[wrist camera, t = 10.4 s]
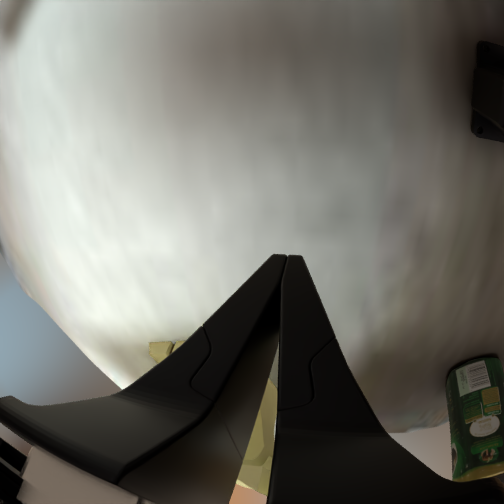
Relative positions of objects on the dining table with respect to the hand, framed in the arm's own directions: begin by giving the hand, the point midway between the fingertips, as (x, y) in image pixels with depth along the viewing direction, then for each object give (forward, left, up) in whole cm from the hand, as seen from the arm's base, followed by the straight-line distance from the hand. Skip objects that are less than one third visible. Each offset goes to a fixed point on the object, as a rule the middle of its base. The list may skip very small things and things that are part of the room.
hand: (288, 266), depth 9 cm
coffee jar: (-22, +28, -13) cm, 38 cm away
